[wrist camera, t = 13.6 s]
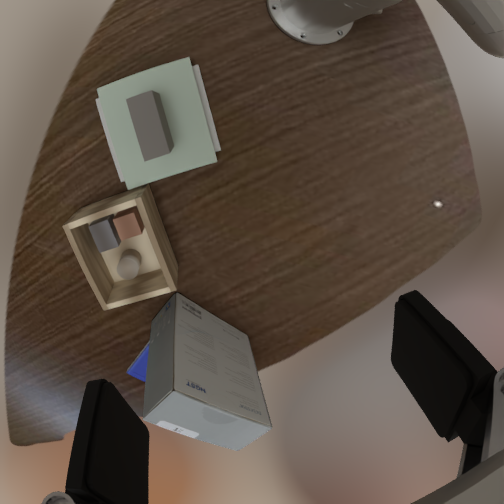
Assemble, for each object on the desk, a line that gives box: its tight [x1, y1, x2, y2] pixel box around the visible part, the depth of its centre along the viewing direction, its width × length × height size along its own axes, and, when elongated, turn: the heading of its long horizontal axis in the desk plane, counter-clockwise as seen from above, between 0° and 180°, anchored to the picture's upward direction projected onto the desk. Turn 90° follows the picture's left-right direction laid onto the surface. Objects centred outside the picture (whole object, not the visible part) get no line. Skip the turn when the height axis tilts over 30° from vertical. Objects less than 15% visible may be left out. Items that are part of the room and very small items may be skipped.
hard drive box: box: [143, 293, 272, 451], centre depth 44 cm, size 16×8×20 cm, turn 48°
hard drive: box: [127, 341, 150, 382], centre depth 54 cm, size 2×8×12 cm
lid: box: [97, 57, 217, 190], centre depth 33 cm, size 12×14×9 cm
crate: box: [63, 183, 178, 310], centre depth 41 cm, size 11×13×7 cm
